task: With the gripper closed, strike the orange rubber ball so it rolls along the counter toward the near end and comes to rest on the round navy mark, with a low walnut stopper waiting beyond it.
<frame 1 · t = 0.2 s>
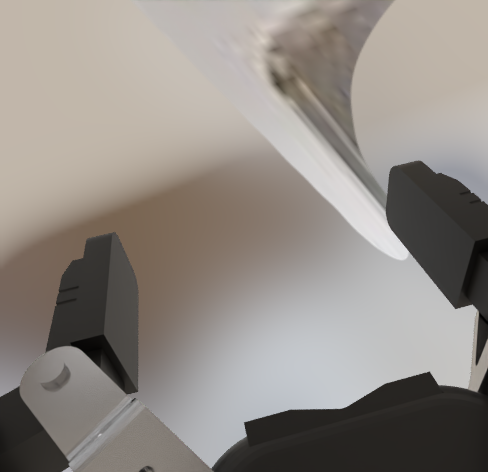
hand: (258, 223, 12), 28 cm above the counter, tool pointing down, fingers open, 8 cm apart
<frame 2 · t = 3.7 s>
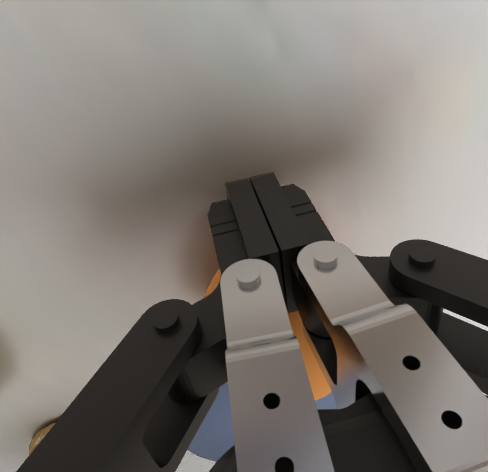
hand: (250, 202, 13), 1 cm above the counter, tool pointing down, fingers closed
ball: (282, 319, 14), on the counter, touching gripper
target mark: (282, 407, 23), on the counter
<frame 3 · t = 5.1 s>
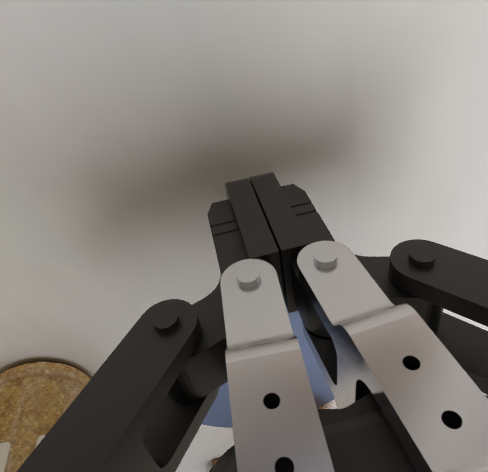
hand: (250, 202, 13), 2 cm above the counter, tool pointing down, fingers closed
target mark: (273, 361, 21), on the counter
sprinkles bottle: (46, 384, 19), on the counter
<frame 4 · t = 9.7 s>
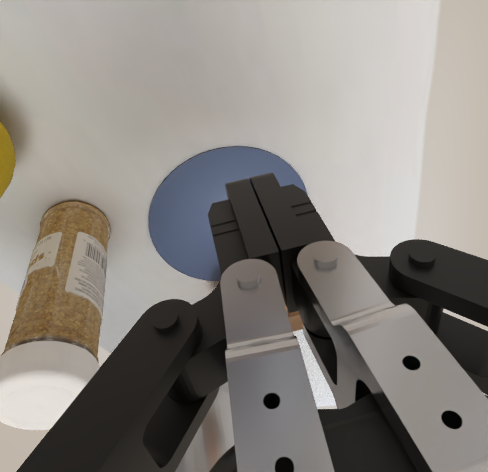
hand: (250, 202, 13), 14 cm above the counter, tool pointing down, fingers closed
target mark: (230, 220, 30), on the counter
sprinkles bottle: (77, 225, 28), on the counter
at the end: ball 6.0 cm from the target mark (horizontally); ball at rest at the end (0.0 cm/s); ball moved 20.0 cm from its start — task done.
